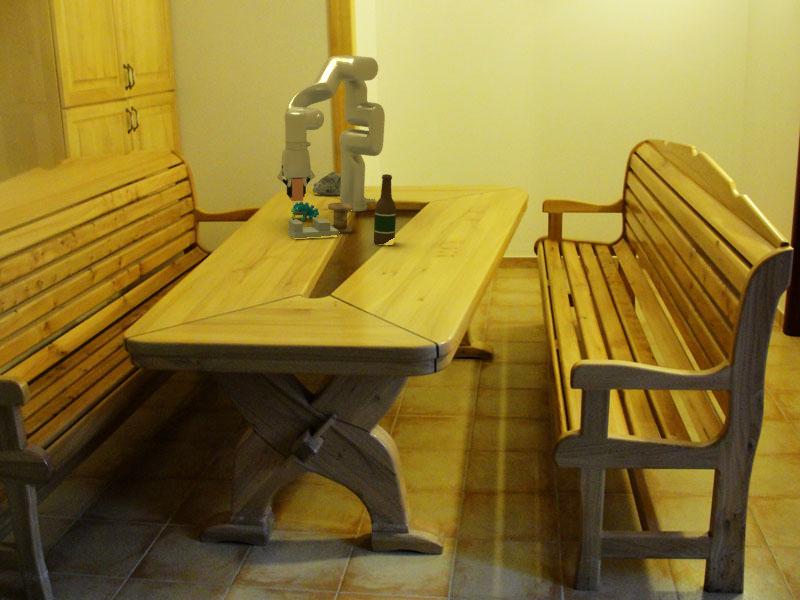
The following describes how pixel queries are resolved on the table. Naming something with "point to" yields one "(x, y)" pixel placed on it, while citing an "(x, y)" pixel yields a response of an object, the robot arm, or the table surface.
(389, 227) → the beer bottle
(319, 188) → the mineral rock
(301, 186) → the orange rectangular block
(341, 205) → the bobbin
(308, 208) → the teal lobed piece
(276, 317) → the table surface
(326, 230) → the grey notched block
